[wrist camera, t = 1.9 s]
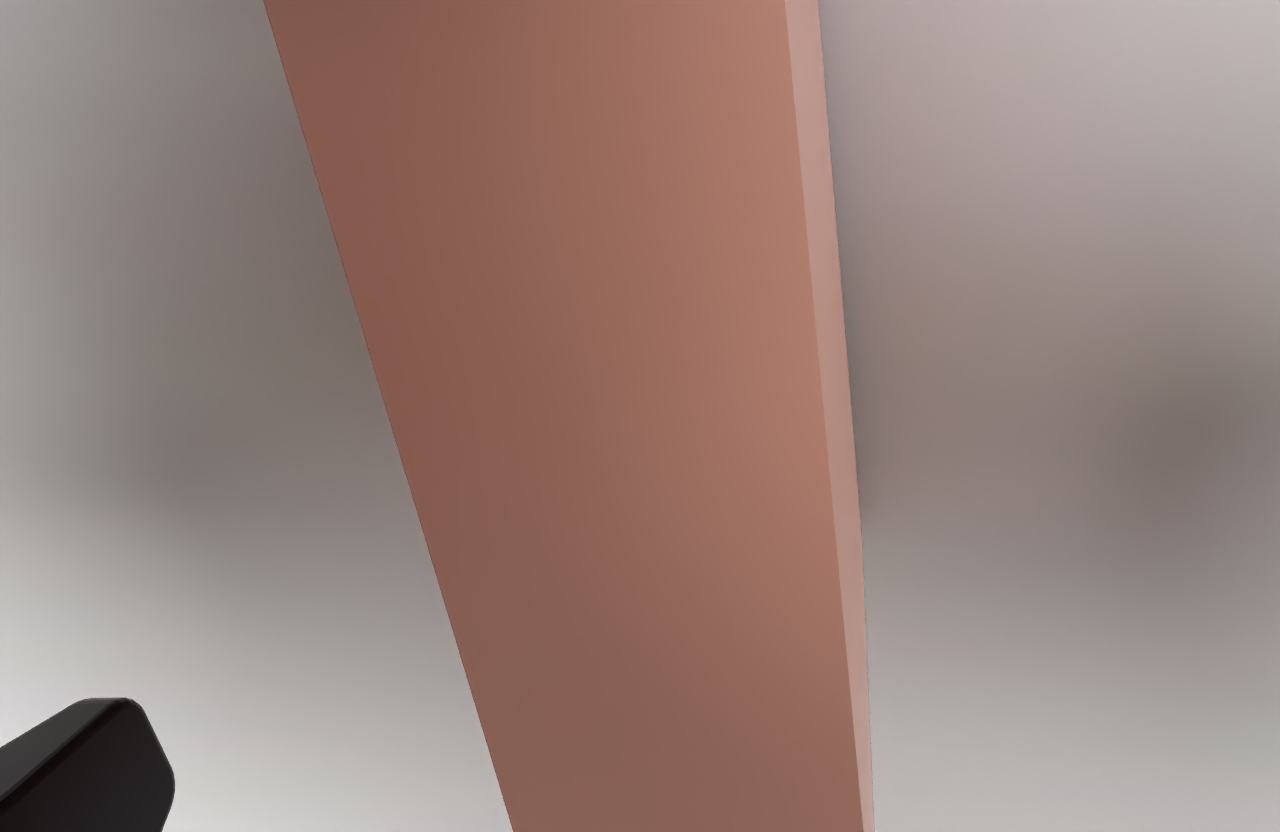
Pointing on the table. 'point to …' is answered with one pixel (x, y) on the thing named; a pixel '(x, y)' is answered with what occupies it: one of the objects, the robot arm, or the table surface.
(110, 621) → the table surface
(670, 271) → the pink ridged slab
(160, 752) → the robot arm
